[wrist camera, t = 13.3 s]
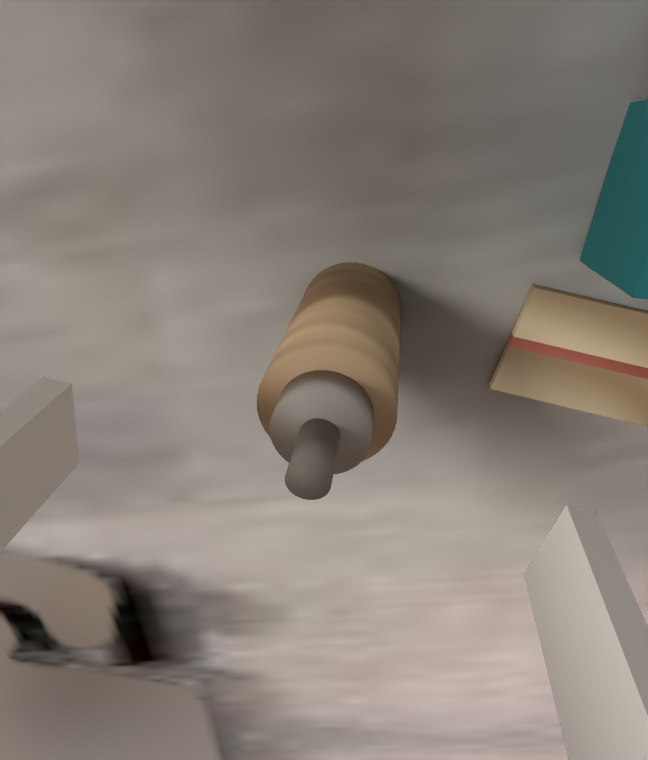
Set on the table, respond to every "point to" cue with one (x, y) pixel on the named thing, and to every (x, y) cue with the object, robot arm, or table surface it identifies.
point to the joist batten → (578, 355)
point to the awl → (334, 377)
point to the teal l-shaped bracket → (623, 211)
